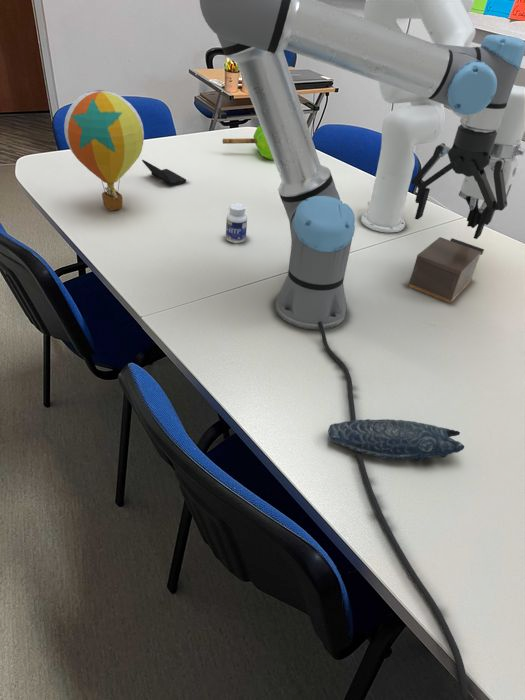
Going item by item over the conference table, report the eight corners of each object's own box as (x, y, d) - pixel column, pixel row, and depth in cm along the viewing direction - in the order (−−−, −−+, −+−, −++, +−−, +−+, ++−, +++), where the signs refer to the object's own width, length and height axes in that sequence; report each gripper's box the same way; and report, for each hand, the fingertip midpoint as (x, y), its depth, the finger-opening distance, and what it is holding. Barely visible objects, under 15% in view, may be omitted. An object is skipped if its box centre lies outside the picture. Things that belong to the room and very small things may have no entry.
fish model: (462, 473, 80) (472, 452, 77) (326, 456, 81) (331, 434, 78) (454, 441, 86) (463, 420, 82) (327, 425, 86) (331, 403, 83)
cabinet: (430, 266, 133) (439, 236, 127) (470, 281, 128) (481, 251, 123) (408, 286, 124) (417, 255, 119) (450, 303, 119) (461, 271, 114)
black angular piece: (190, 175, 164) (173, 153, 156) (179, 193, 163) (161, 172, 155) (166, 170, 170) (147, 148, 162) (155, 188, 169) (136, 167, 161)
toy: (64, 203, 145) (44, 85, 127) (127, 189, 156) (117, 79, 137) (97, 229, 134) (80, 105, 116) (162, 213, 145) (156, 96, 126)
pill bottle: (222, 240, 135) (223, 208, 129) (230, 232, 139) (231, 200, 133) (241, 244, 134) (243, 212, 128) (248, 236, 138) (250, 204, 132)
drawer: (445, 253, 137) (452, 231, 133) (480, 266, 133) (488, 243, 129) (417, 278, 125) (424, 255, 121) (453, 293, 121) (462, 269, 117)
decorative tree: (219, 118, 187) (300, 118, 192) (219, 148, 194) (297, 147, 199) (226, 133, 174) (312, 132, 179) (226, 164, 180) (309, 163, 185)
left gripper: (548, 138, 99) (508, 239, 113) (426, 110, 110) (402, 205, 123) (539, 146, 94) (498, 251, 108) (412, 116, 105) (388, 214, 118)
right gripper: (538, 153, 114) (507, 230, 125) (472, 137, 121) (448, 211, 132) (528, 161, 109) (497, 240, 121) (460, 143, 116) (437, 220, 127)
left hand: (447, 227), depth 116 cm, fingers open, 13 cm apart
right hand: (472, 225), depth 126 cm, fingers closed
